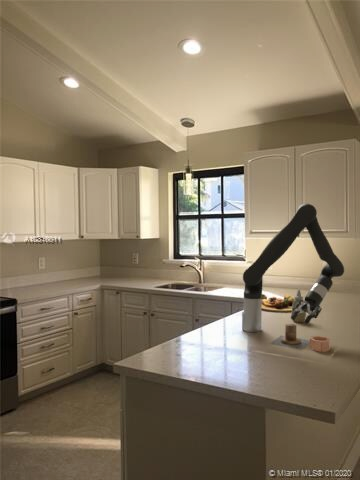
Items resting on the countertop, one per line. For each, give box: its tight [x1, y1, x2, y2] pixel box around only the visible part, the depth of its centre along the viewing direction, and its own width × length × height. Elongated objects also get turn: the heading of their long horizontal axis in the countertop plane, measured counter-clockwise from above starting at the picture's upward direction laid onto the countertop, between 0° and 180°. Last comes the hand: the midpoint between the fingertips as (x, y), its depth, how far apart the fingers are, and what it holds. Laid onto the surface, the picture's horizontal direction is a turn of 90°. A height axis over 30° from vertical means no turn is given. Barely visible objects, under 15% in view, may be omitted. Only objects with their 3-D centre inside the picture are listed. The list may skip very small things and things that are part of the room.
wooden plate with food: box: [262, 293, 295, 314], centre depth 269 cm, size 32×32×8 cm
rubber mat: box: [269, 335, 310, 350], centre depth 189 cm, size 15×16×1 cm
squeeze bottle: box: [290, 289, 307, 323], centre depth 230 cm, size 8×8×18 cm
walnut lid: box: [281, 323, 301, 345], centre depth 189 cm, size 9×9×8 cm
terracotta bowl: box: [309, 335, 331, 353], centre depth 179 cm, size 8×8×5 cm
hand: (298, 321), depth 191 cm, fingers open, 8 cm apart
